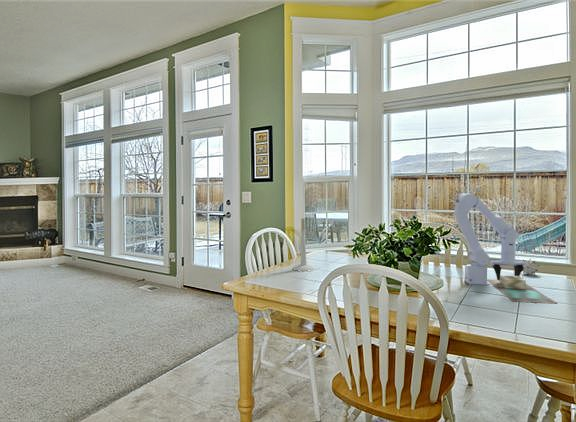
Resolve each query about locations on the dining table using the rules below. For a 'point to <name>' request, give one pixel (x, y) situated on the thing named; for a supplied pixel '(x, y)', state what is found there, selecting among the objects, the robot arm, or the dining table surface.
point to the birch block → (512, 282)
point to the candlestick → (303, 252)
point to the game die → (530, 267)
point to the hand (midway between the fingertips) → (507, 280)
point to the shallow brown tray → (522, 293)
